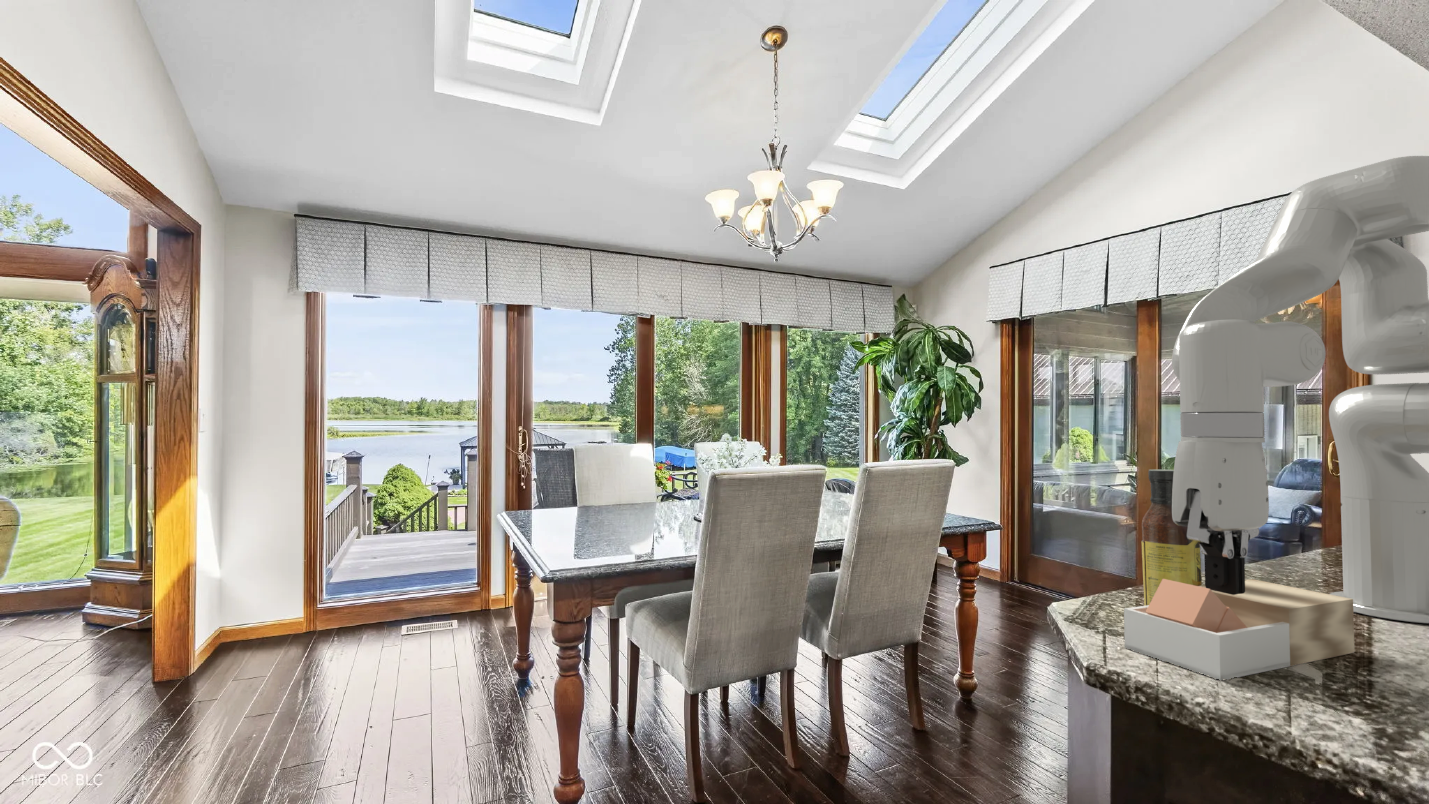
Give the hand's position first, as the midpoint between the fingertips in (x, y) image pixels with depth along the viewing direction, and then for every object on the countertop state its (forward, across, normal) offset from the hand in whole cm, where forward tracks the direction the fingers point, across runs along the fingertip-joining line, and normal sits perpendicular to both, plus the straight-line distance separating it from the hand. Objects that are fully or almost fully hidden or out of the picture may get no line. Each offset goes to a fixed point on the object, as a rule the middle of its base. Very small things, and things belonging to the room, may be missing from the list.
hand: (1224, 591), depth 72 cm
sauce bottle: (+7, -6, -10) cm, 13 cm away
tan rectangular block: (+7, -8, 0) cm, 11 cm away
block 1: (+3, +5, 0) cm, 6 cm away
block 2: (+2, +2, 0) cm, 3 cm away
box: (+7, +4, 0) cm, 8 cm away
